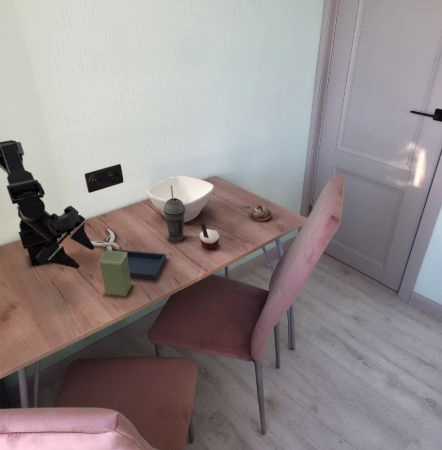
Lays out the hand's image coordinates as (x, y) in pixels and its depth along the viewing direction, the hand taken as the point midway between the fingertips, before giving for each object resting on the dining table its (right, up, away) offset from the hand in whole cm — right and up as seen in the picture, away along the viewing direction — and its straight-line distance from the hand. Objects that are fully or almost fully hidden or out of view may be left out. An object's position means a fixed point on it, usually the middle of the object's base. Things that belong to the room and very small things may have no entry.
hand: (86, 257), depth 113 cm
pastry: (+53, +14, +42) cm, 69 cm away
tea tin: (+8, -10, +5) cm, 13 cm away
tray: (+11, -4, +14) cm, 19 cm away
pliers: (-2, +4, +27) cm, 27 cm away
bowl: (+23, +14, +43) cm, 51 cm away
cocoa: (+34, +2, +24) cm, 41 cm away
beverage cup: (+22, +5, +29) cm, 37 cm away
